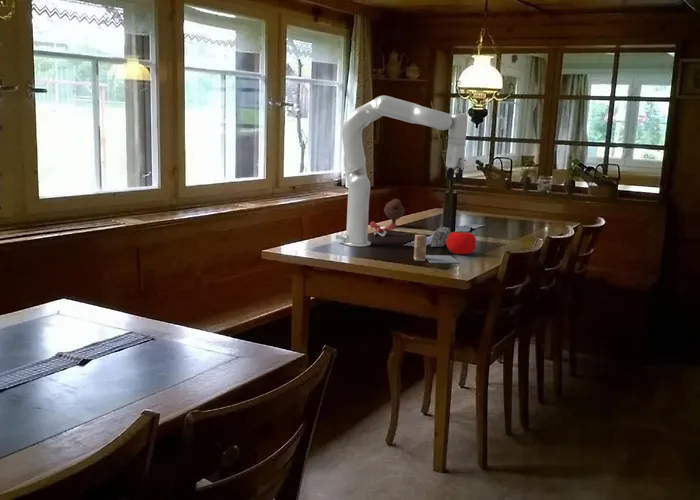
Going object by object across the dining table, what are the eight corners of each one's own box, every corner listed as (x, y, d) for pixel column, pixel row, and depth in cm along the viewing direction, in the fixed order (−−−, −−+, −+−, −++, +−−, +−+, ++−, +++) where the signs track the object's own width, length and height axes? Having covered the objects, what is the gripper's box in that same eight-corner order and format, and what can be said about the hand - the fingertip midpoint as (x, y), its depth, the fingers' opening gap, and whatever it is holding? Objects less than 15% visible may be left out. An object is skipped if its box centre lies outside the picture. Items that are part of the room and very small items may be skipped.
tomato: (475, 257, 313) (476, 233, 311) (445, 255, 315) (446, 231, 313) (475, 252, 323) (477, 229, 321) (446, 250, 325) (447, 227, 323)
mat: (430, 263, 297) (430, 262, 297) (422, 255, 311) (422, 255, 311) (459, 263, 299) (459, 262, 299) (450, 256, 312) (450, 255, 312)
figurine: (360, 234, 356) (361, 221, 355) (372, 232, 366) (373, 218, 365) (388, 238, 348) (388, 224, 347) (399, 235, 358) (400, 222, 357)
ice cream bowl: (407, 227, 384) (409, 198, 381) (397, 229, 375) (398, 200, 372) (389, 225, 389) (391, 196, 386) (379, 227, 380) (380, 198, 377)
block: (415, 260, 301) (417, 236, 299) (413, 258, 305) (415, 234, 303) (425, 260, 302) (426, 236, 300) (423, 258, 306) (424, 234, 304)
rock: (437, 248, 326) (441, 226, 326) (421, 245, 331) (425, 223, 330) (453, 250, 340) (456, 228, 339) (437, 247, 344) (440, 226, 343)
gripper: (441, 140, 332) (438, 178, 335) (456, 143, 315) (454, 182, 319) (456, 141, 334) (454, 179, 337) (473, 143, 317) (469, 183, 321)
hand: (454, 180), depth 328 cm, fingers open, 9 cm apart
